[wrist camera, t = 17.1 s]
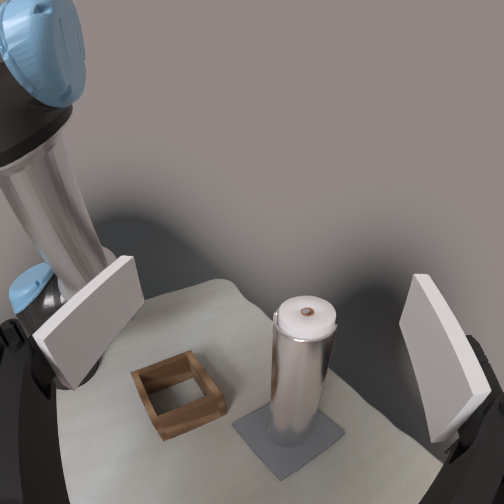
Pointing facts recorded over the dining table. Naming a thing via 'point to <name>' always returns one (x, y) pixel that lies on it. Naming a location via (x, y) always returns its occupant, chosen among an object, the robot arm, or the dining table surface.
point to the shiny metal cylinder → (299, 366)
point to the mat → (284, 458)
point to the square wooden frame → (188, 414)
